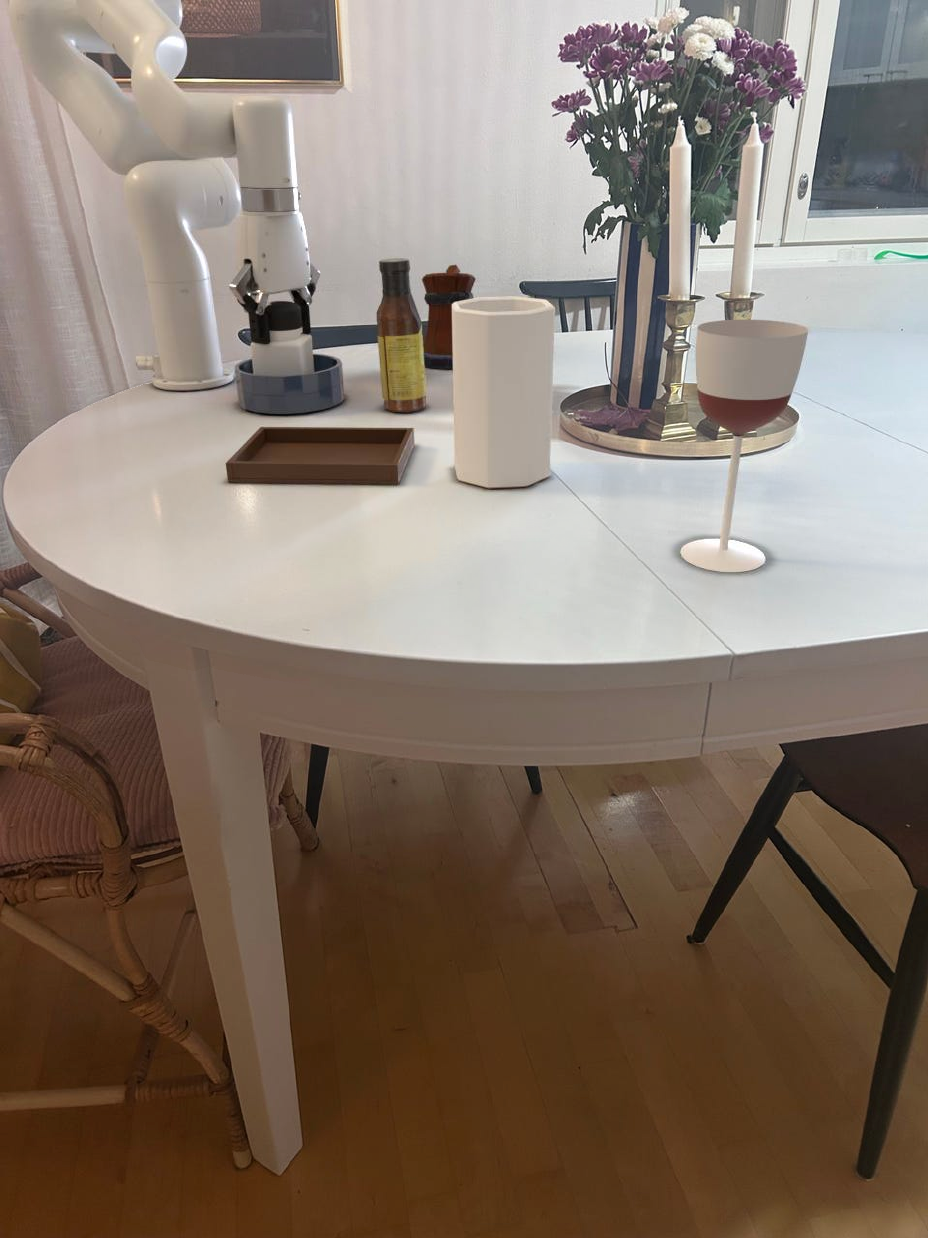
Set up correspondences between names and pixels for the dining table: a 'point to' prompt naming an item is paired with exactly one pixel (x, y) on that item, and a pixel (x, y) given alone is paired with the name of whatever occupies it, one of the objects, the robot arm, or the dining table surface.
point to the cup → (502, 390)
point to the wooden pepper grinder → (443, 313)
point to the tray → (322, 456)
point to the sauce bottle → (400, 340)
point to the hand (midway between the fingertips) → (281, 336)
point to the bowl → (291, 388)
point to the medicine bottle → (283, 343)
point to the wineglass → (742, 408)
